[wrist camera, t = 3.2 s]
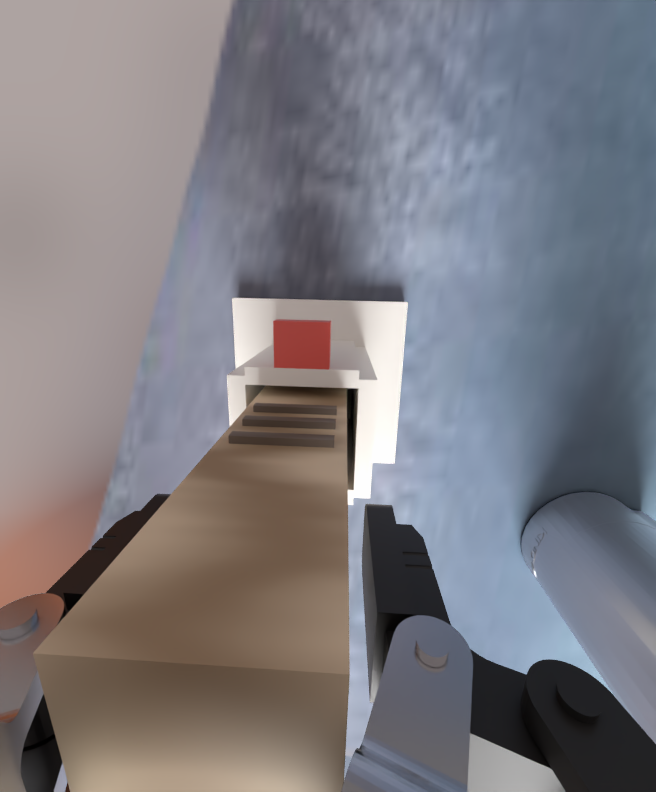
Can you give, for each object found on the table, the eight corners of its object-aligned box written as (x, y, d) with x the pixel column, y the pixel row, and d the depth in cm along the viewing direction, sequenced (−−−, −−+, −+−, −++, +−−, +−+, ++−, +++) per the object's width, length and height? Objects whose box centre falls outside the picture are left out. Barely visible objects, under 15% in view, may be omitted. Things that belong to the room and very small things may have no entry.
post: (347, 356, 25) (358, 659, 4) (345, 415, 26) (344, 872, 5) (288, 354, 25) (21, 637, 4) (288, 412, 26) (80, 849, 6)
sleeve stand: (404, 301, 25) (449, 308, 14) (392, 455, 29) (421, 555, 18) (238, 297, 26) (158, 300, 15) (245, 449, 29) (184, 543, 18)
